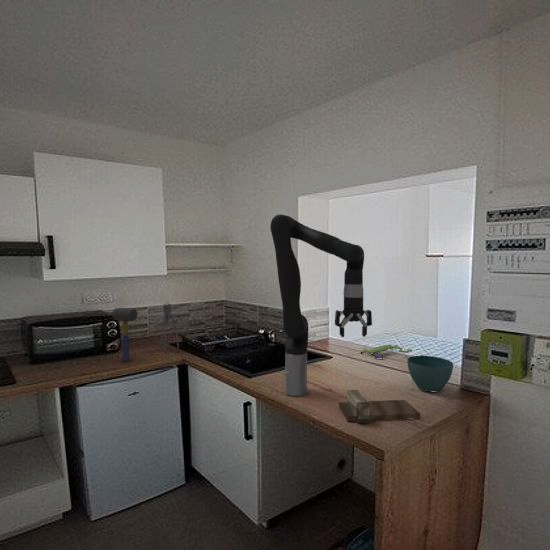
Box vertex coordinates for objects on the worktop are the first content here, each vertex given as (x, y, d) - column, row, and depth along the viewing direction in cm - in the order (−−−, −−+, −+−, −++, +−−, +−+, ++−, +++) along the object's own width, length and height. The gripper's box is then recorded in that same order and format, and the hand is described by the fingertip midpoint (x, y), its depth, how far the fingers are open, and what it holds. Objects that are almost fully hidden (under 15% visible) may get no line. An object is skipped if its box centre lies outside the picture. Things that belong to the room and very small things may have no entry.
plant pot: (415, 378, 167) (416, 353, 167) (457, 388, 155) (458, 360, 155) (400, 389, 154) (400, 361, 153) (445, 400, 142) (446, 370, 141)
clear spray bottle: (161, 349, 223) (160, 302, 221) (178, 350, 222) (178, 302, 221) (155, 354, 213) (154, 304, 211) (173, 354, 212) (172, 304, 211)
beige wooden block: (358, 423, 122) (358, 404, 122) (346, 406, 136) (346, 389, 136) (369, 422, 122) (369, 404, 122) (356, 405, 136) (356, 389, 136)
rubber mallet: (139, 360, 200) (138, 307, 199) (130, 364, 193) (128, 309, 192) (122, 358, 205) (120, 306, 203) (112, 361, 198) (110, 308, 196)
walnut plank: (348, 422, 124) (348, 416, 124) (339, 407, 136) (339, 402, 136) (419, 418, 126) (419, 413, 126) (404, 404, 138) (404, 399, 138)
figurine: (415, 359, 201) (415, 349, 200) (370, 361, 197) (370, 351, 197) (399, 350, 219) (399, 341, 219) (357, 352, 215) (357, 343, 215)
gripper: (338, 296, 135) (338, 339, 136) (374, 296, 136) (374, 338, 137) (333, 294, 142) (333, 335, 143) (367, 294, 144) (367, 334, 144)
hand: (353, 336), depth 140 cm, fingers open, 8 cm apart
